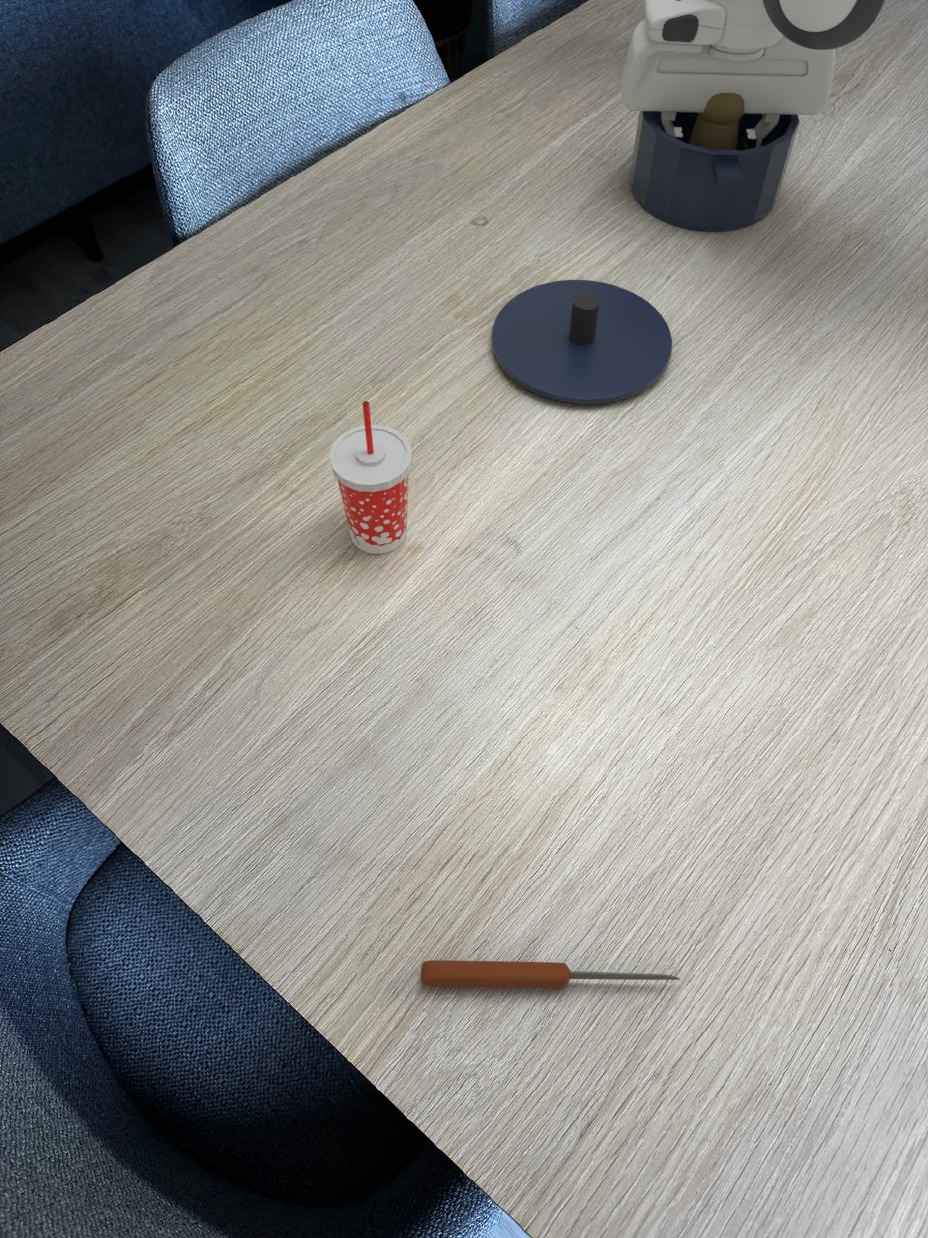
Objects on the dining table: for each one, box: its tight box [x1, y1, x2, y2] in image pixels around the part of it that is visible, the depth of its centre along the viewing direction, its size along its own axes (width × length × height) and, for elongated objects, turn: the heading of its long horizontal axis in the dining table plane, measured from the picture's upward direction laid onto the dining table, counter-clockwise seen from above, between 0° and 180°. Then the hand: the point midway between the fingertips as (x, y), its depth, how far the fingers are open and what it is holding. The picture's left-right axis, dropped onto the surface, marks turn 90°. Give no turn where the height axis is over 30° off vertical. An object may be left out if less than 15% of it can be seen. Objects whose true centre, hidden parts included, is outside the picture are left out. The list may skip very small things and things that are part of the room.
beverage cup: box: [328, 400, 413, 555], centre depth 78 cm, size 6×6×14 cm
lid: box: [491, 279, 673, 405], centre depth 94 cm, size 17×17×5 cm
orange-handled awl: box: [420, 959, 681, 990], centre depth 63 cm, size 16×1×2 cm, turn 89°
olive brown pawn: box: [689, 93, 745, 150], centre depth 106 cm, size 6×6×11 cm
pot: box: [629, 111, 801, 233], centre depth 108 cm, size 16×21×8 cm
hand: (711, 148), depth 108 cm, fingers open, 7 cm apart
